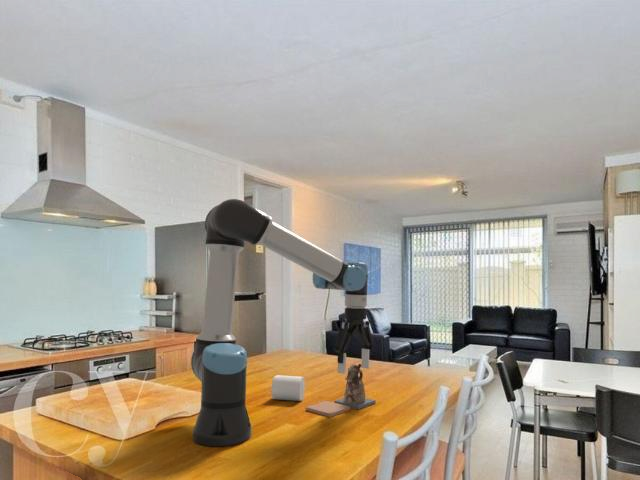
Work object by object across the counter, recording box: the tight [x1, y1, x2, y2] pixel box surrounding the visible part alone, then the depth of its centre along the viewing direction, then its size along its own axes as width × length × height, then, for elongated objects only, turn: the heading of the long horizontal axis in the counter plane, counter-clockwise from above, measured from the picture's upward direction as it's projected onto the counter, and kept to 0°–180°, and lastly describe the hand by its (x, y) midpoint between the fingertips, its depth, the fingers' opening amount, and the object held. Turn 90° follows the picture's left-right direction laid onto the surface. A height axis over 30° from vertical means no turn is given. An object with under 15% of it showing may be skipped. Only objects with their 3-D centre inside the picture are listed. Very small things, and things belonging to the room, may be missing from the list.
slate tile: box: [333, 397, 377, 411], centre depth 150 cm, size 10×10×1 cm
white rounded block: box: [270, 374, 306, 402], centre depth 156 cm, size 12×10×8 cm
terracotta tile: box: [305, 400, 351, 418], centre depth 142 cm, size 10×10×1 cm
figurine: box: [343, 363, 366, 404], centre depth 150 cm, size 7×7×12 cm
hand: (353, 370), depth 150 cm, fingers open, 13 cm apart
